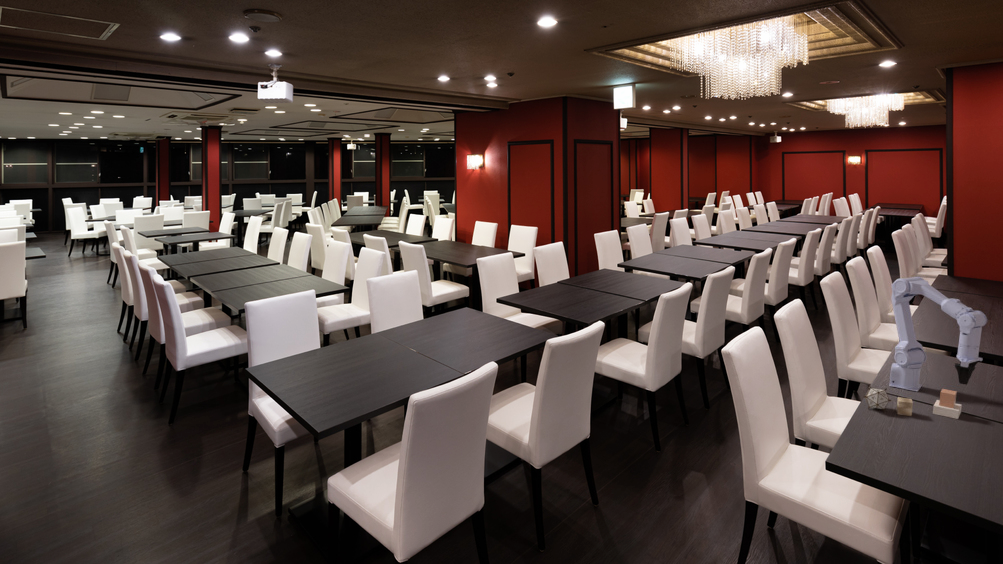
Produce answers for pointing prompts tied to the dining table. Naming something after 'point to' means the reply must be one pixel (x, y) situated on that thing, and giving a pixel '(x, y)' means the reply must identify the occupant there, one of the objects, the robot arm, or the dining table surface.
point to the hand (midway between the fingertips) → (964, 380)
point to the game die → (877, 398)
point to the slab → (947, 410)
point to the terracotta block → (947, 398)
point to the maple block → (904, 406)
